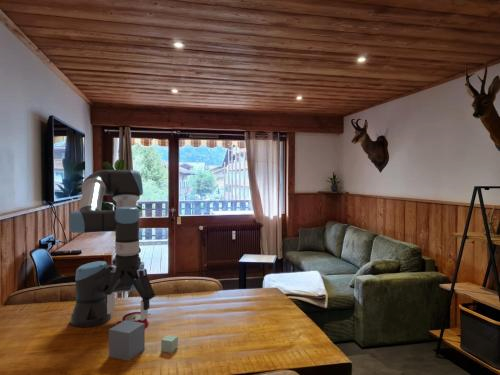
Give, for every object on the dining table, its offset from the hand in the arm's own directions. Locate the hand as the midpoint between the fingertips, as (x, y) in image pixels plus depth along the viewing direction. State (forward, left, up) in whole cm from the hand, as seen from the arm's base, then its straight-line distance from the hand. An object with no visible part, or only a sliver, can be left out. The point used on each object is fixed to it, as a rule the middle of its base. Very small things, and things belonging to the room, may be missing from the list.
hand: (127, 315), depth 113 cm
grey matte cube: (0, 0, -12) cm, 12 cm away
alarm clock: (-11, +16, -13) cm, 23 cm away
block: (+12, +7, -13) cm, 19 cm away
